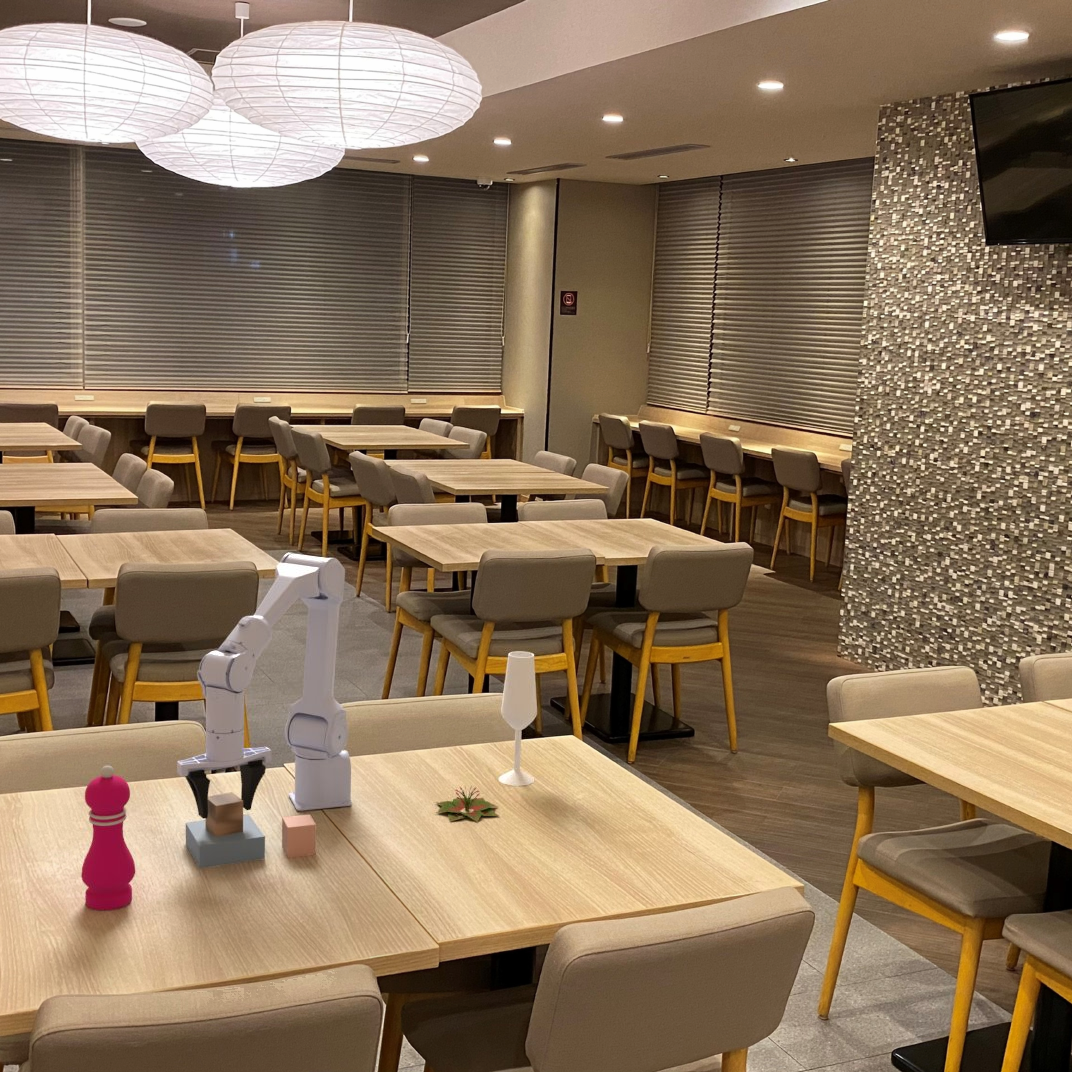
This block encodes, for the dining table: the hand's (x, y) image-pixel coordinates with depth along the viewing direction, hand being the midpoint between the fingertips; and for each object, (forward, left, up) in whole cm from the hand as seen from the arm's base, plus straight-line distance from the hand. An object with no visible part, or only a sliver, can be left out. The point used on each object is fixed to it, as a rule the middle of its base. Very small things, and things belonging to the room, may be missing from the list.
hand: (224, 812), depth 195 cm
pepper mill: (+18, +13, -7) cm, 23 cm away
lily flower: (-42, -6, -7) cm, 43 cm away
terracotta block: (-11, +3, -6) cm, 13 cm away
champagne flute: (-56, -18, -7) cm, 59 cm away
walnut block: (0, 0, -3) cm, 3 cm away
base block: (0, 0, -7) cm, 7 cm away
